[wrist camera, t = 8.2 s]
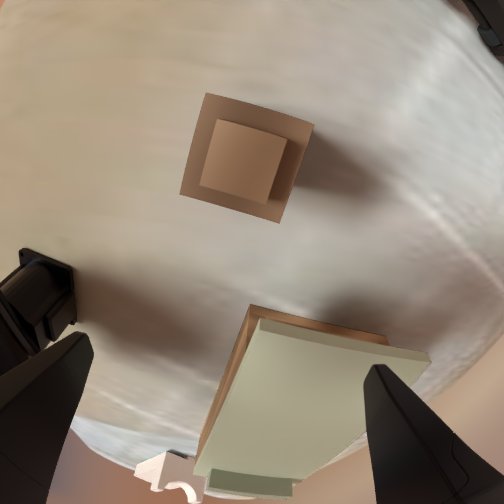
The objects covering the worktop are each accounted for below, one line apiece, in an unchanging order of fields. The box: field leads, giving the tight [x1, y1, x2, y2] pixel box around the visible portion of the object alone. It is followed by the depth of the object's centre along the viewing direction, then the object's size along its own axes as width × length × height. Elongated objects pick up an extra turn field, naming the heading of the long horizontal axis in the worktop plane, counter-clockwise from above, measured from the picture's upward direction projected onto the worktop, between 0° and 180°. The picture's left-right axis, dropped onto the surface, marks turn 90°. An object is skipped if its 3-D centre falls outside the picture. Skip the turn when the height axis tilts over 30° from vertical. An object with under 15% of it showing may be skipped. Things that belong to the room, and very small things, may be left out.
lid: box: [193, 318, 432, 500], centre depth 20 cm, size 12×25×3 cm, turn 163°
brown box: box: [194, 304, 389, 467], centre depth 25 cm, size 13×22×5 cm, turn 163°
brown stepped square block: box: [180, 93, 314, 223], centre depth 13 cm, size 4×4×8 cm
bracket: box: [134, 451, 206, 504], centre depth 35 cm, size 13×7×8 cm, turn 142°
